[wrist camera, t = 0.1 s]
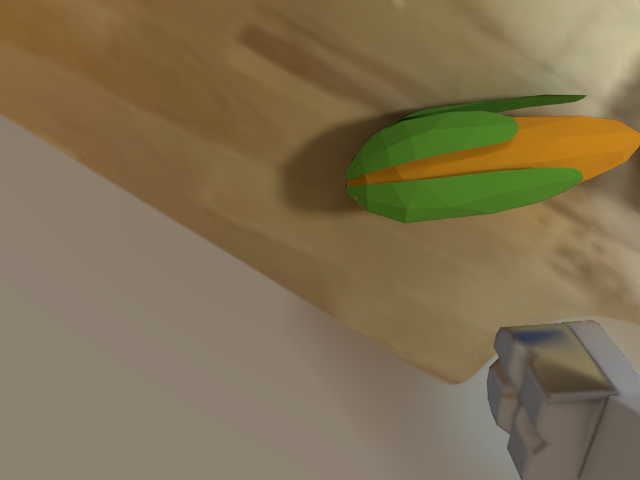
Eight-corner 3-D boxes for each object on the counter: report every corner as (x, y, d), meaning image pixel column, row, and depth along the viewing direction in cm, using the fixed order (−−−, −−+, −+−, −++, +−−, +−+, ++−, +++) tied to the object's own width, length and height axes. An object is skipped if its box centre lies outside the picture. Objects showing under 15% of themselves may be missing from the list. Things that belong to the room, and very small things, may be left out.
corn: (348, 158, 33) (694, 103, 33) (332, 106, 39) (624, 60, 39) (359, 260, 37) (665, 211, 38) (343, 199, 44) (606, 157, 44)
